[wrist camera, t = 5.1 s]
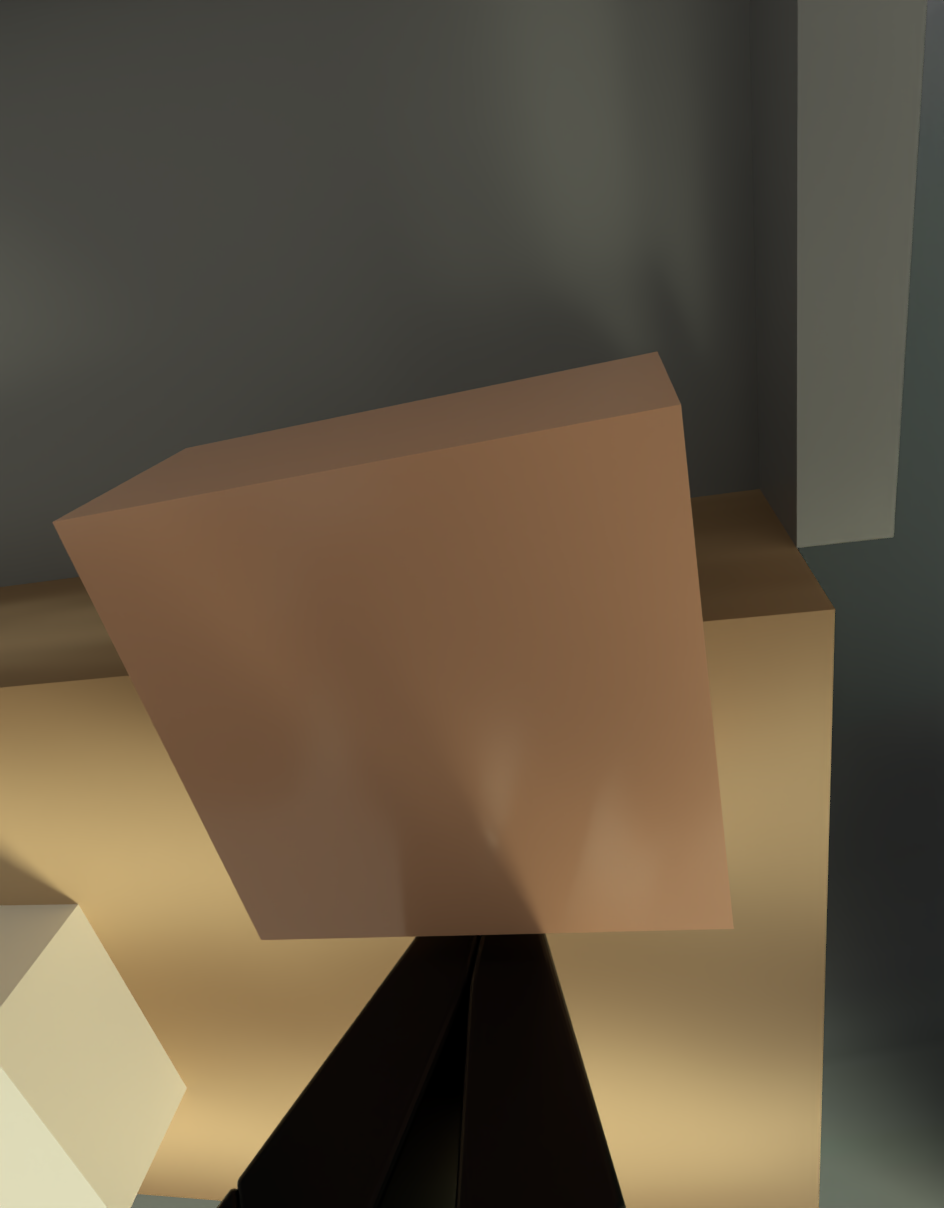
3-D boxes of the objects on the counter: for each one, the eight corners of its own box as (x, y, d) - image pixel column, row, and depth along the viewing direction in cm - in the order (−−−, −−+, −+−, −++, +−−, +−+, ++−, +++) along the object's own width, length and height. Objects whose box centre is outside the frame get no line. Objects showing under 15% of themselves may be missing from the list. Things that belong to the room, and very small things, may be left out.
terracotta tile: (704, 773, 8) (733, 928, 6) (327, 801, 9) (261, 940, 7) (656, 351, 6) (680, 405, 4) (186, 448, 7) (52, 521, 5)
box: (829, 469, 10) (893, 537, 8) (-175, 602, 14) (-316, 672, 12) (851, -520, 6) (984, -905, 4) (-537, 35, 10) (-844, -16, 8)
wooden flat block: (767, 1018, 16) (818, 1248, 12) (116, 1006, 19) (9, 1183, 16) (754, 479, 10) (835, 609, 7) (-134, 597, 14) (-378, 723, 10)
